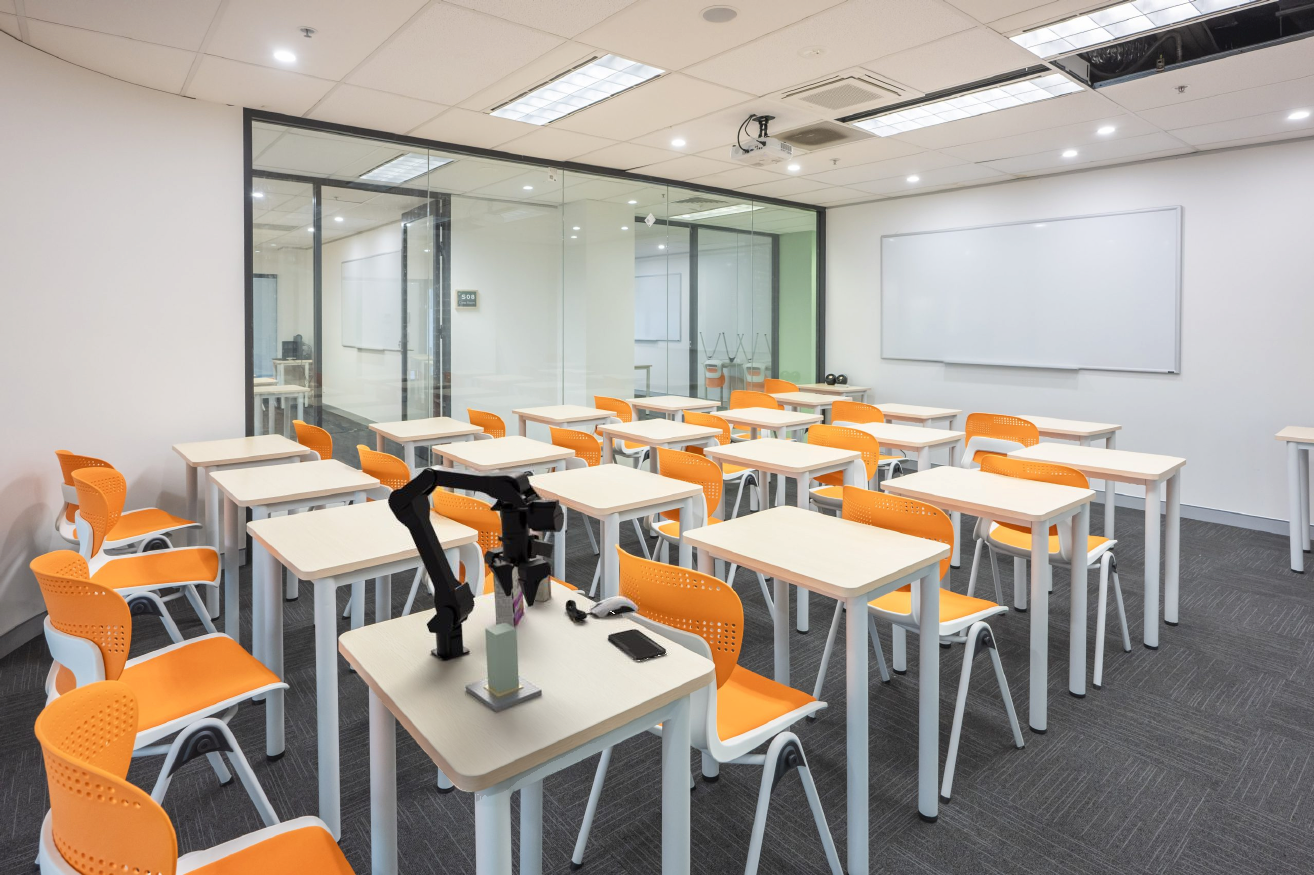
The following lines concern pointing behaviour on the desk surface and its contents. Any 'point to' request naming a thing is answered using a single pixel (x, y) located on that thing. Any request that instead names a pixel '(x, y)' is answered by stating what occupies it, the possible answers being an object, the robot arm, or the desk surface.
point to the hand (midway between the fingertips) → (519, 601)
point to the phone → (636, 644)
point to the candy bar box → (509, 602)
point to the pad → (503, 694)
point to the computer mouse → (602, 608)
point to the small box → (544, 589)
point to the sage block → (502, 657)
